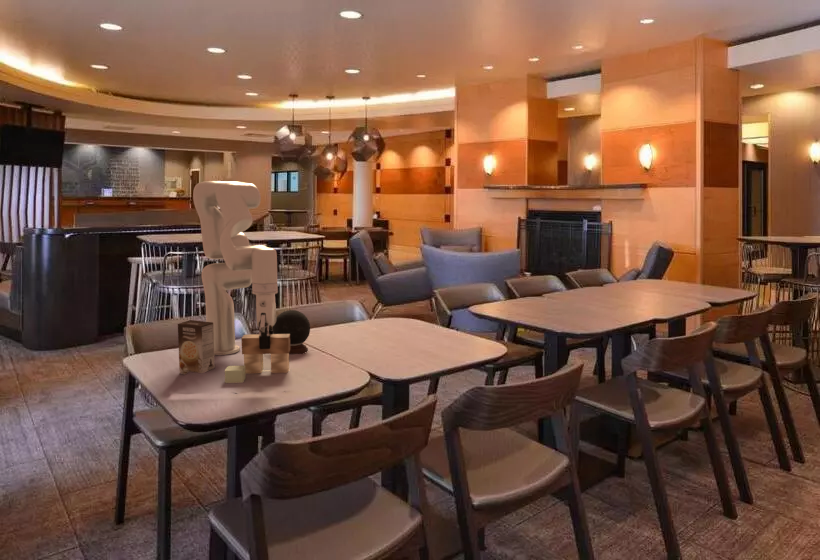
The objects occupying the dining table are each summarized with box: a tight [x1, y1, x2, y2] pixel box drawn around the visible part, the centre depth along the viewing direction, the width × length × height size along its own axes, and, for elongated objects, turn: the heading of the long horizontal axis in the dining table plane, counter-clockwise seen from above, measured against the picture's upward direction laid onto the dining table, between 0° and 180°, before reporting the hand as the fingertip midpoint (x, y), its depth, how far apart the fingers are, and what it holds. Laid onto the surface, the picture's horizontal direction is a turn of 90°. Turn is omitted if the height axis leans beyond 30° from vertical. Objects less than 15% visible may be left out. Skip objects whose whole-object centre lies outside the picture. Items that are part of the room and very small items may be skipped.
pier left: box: [243, 354, 264, 374], centre depth 187 cm, size 5×5×6 cm
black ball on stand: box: [272, 309, 311, 355], centre depth 216 cm, size 13×13×15 cm
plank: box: [241, 333, 290, 355], centre depth 187 cm, size 14×5×5 cm, turn 95°
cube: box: [224, 365, 247, 384], centre depth 178 cm, size 5×5×5 cm
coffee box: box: [177, 319, 216, 375], centre depth 189 cm, size 9×6×16 cm
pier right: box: [270, 353, 290, 374], centre depth 188 cm, size 5×5×6 cm
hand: (266, 345), depth 187 cm, fingers open, 6 cm apart
